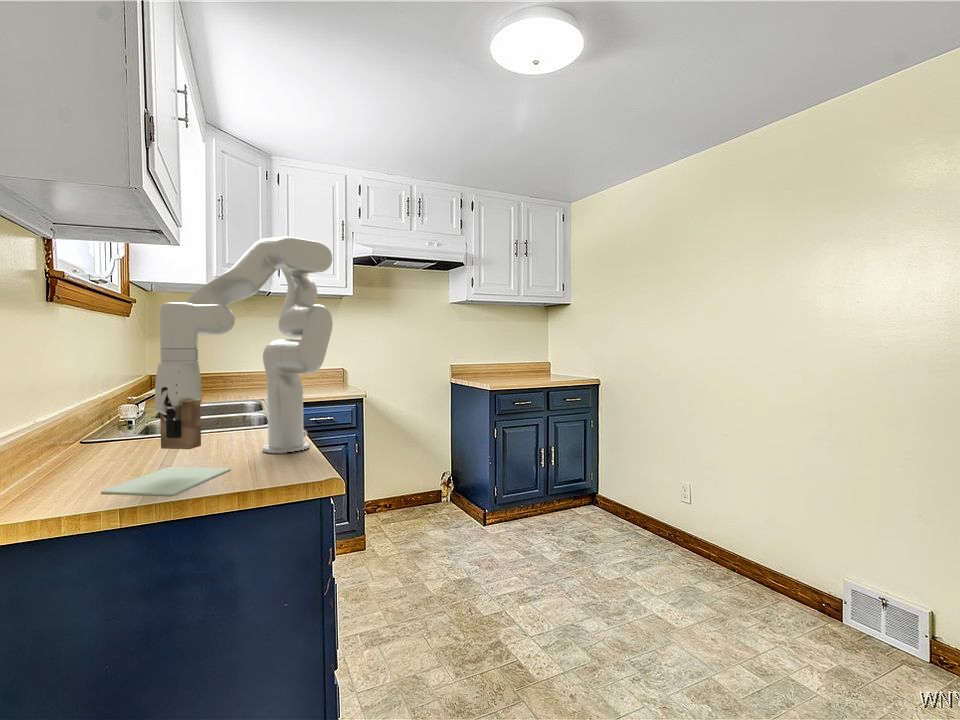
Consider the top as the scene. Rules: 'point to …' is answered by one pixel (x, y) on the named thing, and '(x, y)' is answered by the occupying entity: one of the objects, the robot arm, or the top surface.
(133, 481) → the sage mat
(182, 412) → the walnut slab
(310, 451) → the top surface
